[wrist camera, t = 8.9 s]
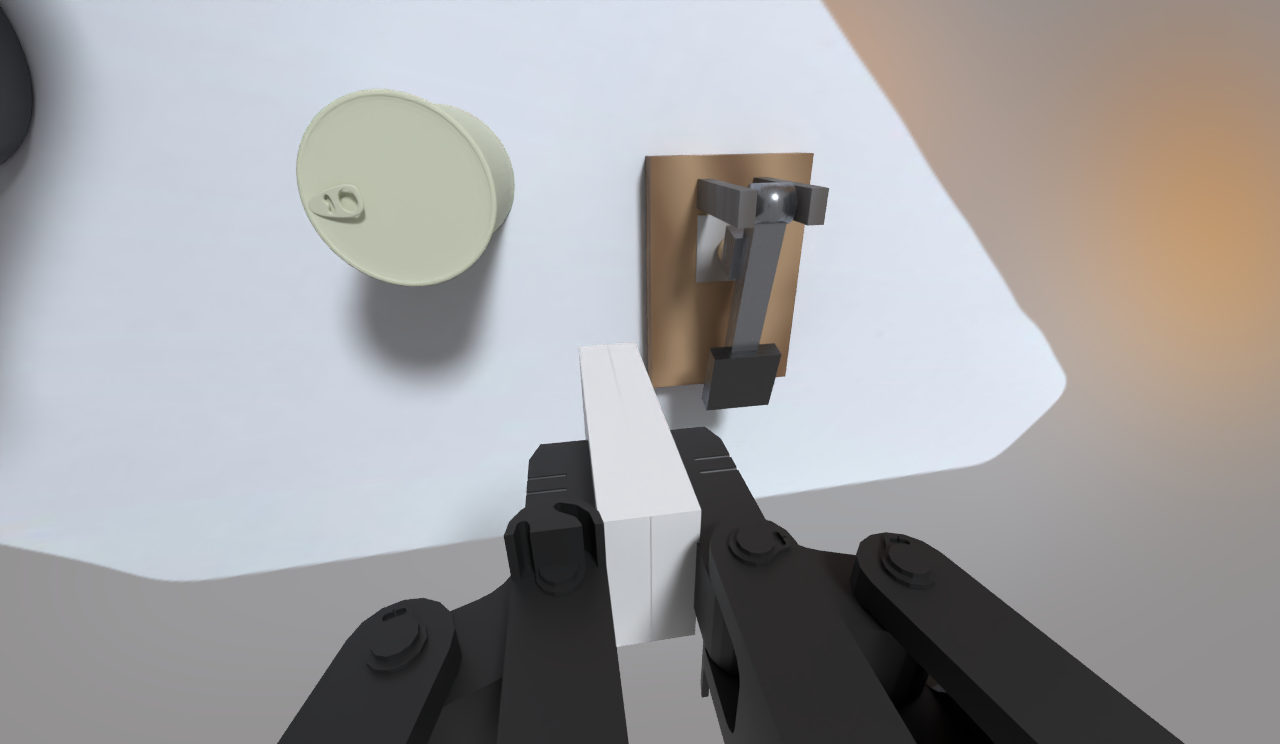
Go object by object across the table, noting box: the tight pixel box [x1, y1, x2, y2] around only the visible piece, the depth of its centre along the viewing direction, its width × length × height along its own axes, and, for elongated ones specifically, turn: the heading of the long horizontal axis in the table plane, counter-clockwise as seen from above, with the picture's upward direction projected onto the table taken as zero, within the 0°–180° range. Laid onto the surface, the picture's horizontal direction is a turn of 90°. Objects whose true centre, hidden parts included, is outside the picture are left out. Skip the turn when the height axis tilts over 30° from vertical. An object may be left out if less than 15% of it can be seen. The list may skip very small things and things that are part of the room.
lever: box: [702, 182, 797, 410], centre depth 34 cm, size 5×17×4 cm, turn 1°
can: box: [296, 89, 515, 286], centre depth 29 cm, size 9×9×12 cm
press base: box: [646, 153, 829, 388], centre depth 35 cm, size 12×18×11 cm, turn 1°
